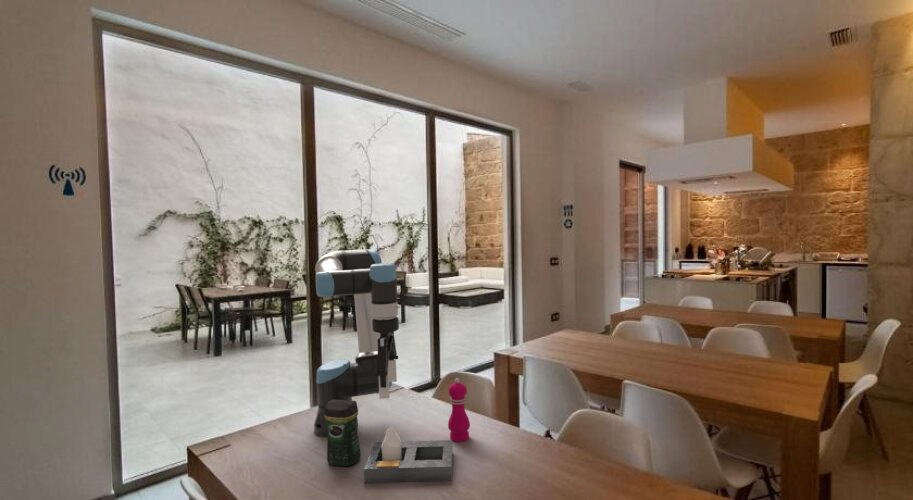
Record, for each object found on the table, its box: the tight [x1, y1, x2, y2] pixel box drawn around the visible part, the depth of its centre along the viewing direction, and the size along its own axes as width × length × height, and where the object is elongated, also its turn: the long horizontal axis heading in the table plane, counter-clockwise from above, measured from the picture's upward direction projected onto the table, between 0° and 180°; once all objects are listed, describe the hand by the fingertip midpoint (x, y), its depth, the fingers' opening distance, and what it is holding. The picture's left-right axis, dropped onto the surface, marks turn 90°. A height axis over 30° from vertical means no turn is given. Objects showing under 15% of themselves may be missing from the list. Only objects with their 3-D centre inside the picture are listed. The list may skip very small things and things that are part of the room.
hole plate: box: [363, 439, 454, 484], centre depth 136 cm, size 16×24×4 cm, turn 89°
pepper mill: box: [447, 377, 471, 443], centre depth 153 cm, size 7×7×20 cm
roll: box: [381, 426, 402, 461], centre depth 136 cm, size 6×12×6 cm
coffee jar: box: [325, 399, 362, 467], centre depth 141 cm, size 10×8×19 cm
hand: (388, 389), depth 135 cm, fingers open, 13 cm apart
